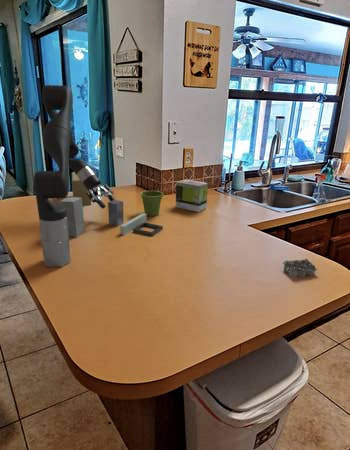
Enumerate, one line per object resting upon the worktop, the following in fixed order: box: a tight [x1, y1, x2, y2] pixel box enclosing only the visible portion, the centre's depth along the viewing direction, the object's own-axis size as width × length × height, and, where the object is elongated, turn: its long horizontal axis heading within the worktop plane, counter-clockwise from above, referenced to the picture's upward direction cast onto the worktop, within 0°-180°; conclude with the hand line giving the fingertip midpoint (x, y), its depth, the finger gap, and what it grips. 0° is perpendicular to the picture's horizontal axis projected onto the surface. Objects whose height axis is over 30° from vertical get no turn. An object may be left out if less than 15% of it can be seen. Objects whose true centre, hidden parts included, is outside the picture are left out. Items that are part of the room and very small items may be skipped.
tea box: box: [175, 179, 209, 213], centre depth 187 cm, size 15×10×15 cm, turn 58°
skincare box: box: [59, 196, 85, 238], centre depth 146 cm, size 8×7×16 cm
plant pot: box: [140, 190, 164, 217], centre depth 175 cm, size 12×12×11 cm
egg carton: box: [282, 258, 318, 278], centre depth 122 cm, size 11×8×4 cm
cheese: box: [71, 171, 92, 207], centre depth 192 cm, size 22×10×15 cm, turn 26°
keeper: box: [132, 222, 164, 237], centre depth 155 cm, size 10×10×2 cm
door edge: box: [119, 212, 148, 236], centre depth 157 cm, size 20×2×4 cm, turn 155°
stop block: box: [107, 199, 125, 227], centre depth 160 cm, size 5×5×11 cm
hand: (109, 205), depth 160 cm, fingers open, 8 cm apart
